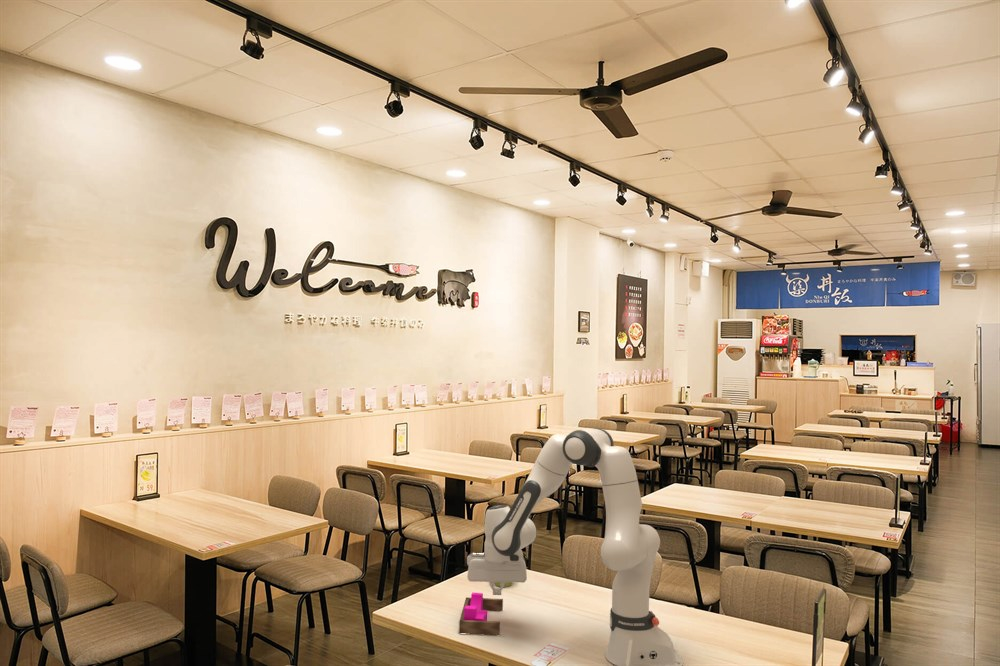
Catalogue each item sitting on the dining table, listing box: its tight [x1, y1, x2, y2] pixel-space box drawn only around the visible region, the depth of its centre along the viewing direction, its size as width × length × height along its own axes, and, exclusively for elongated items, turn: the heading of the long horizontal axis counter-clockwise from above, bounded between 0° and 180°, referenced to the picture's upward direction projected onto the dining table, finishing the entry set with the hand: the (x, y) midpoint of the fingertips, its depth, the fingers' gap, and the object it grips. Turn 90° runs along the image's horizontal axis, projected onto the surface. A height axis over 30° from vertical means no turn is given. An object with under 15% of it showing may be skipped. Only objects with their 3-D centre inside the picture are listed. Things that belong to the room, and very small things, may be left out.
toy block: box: [464, 592, 489, 621], centre depth 226 cm, size 15×6×8 cm, turn 172°
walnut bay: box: [458, 597, 504, 636], centre depth 227 cm, size 13×21×4 cm, turn 177°
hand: (497, 594), depth 227 cm, fingers closed
